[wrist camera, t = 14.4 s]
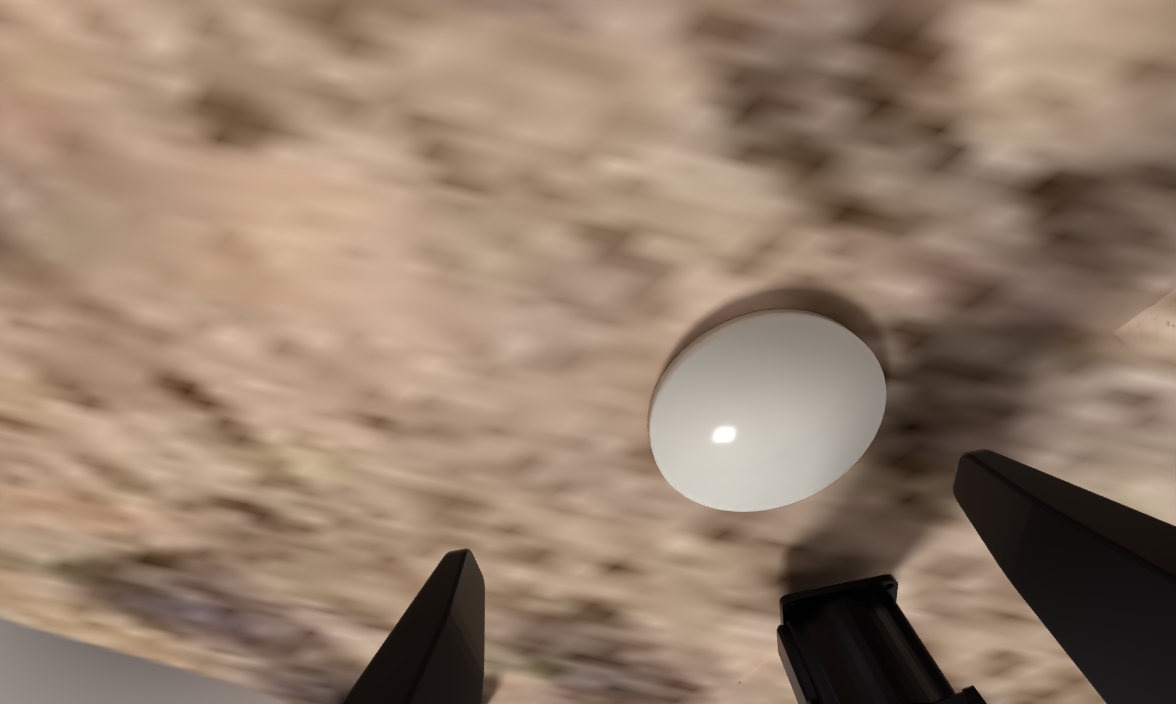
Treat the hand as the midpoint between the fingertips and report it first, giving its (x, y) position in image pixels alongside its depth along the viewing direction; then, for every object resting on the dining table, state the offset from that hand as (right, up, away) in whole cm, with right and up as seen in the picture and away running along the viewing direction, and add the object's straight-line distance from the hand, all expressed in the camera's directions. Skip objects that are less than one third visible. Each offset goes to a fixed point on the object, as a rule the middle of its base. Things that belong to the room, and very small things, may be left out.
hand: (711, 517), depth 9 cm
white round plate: (+6, 0, +15) cm, 16 cm away
